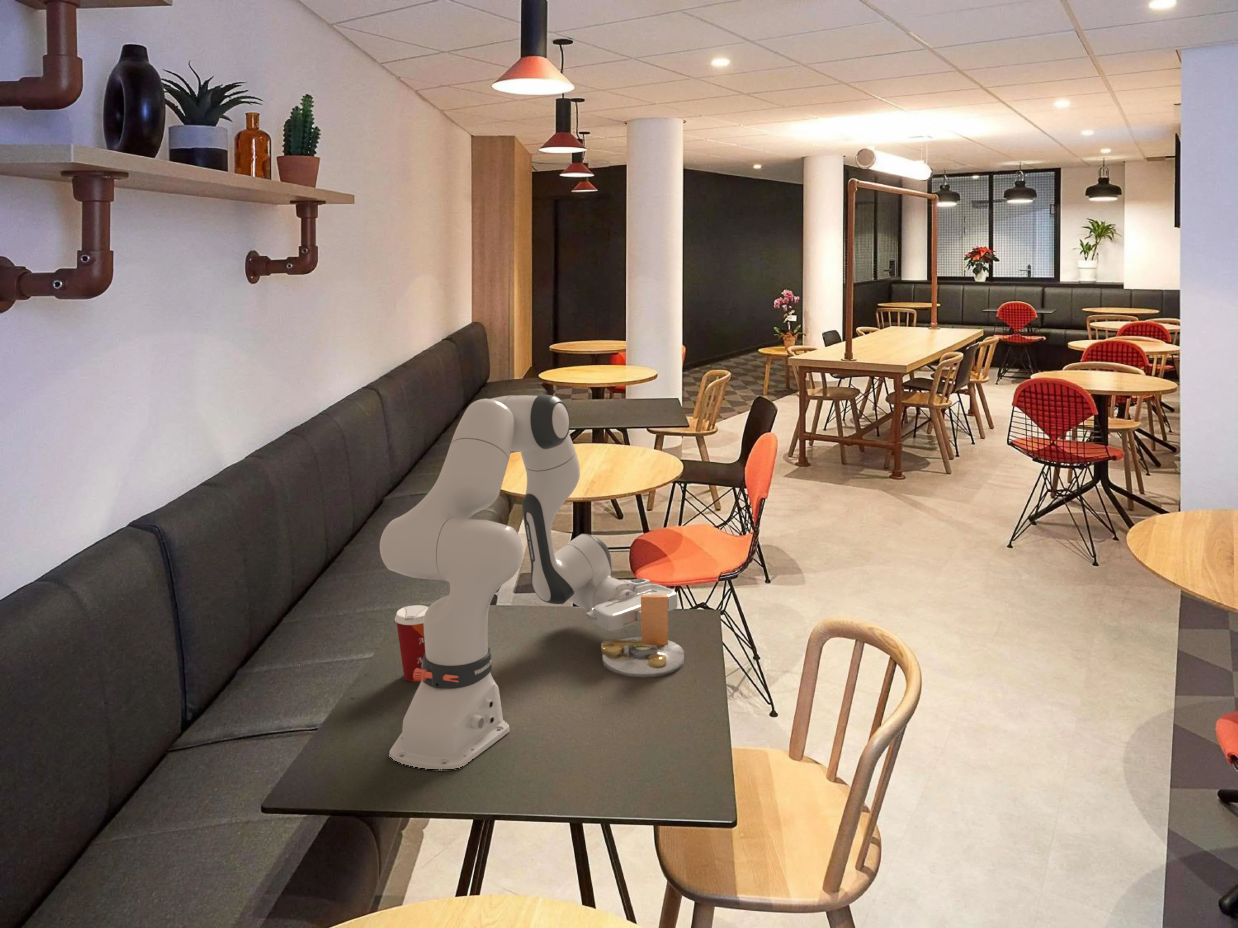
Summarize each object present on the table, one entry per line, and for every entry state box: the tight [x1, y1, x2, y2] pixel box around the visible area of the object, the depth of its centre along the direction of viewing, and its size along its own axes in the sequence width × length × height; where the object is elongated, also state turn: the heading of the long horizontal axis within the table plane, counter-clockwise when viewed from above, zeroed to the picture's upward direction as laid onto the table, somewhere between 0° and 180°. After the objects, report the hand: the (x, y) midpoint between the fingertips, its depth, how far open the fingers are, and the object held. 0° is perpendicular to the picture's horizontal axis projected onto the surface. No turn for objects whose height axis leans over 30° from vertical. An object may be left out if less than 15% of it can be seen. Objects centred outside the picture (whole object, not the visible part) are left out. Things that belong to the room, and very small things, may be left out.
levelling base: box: [601, 636, 685, 679], centre depth 199 cm, size 17×17×3 cm
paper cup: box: [394, 604, 429, 683], centre depth 192 cm, size 8×8×14 cm
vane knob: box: [600, 595, 669, 656], centre depth 198 cm, size 14×5×12 cm, turn 88°
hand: (661, 618), depth 199 cm, fingers closed
